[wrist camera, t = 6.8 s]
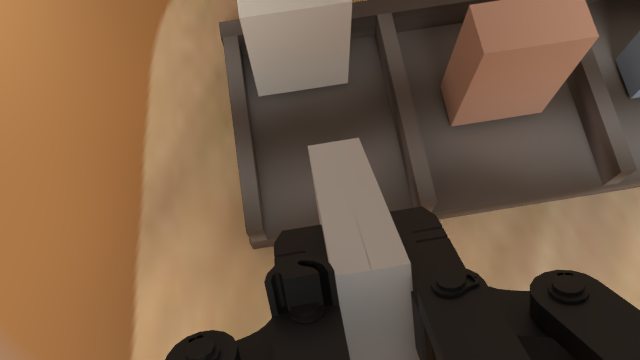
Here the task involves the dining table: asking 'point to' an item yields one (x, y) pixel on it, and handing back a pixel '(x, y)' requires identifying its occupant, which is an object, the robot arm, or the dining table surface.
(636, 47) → the key slate
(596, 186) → the grey compartment tray
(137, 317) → the dining table surface
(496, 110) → the key terracotta
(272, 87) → the key offwhite
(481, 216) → the dining table surface
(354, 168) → the robot arm
